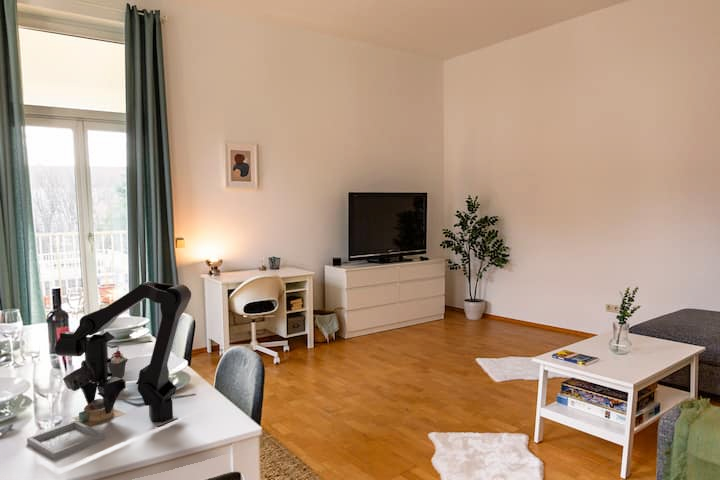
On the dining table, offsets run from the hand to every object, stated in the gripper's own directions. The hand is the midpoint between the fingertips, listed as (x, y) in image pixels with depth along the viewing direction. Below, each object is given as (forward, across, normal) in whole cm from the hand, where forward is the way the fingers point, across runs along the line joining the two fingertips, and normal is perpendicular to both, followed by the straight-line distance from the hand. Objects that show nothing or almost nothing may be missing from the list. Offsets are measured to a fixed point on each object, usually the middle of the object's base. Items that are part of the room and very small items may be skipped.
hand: (99, 409), depth 143 cm
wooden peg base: (+3, 0, 0) cm, 3 cm away
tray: (+3, +8, -13) cm, 15 cm away
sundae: (+3, -16, +15) cm, 22 cm away
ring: (+2, 0, 0) cm, 2 cm away
